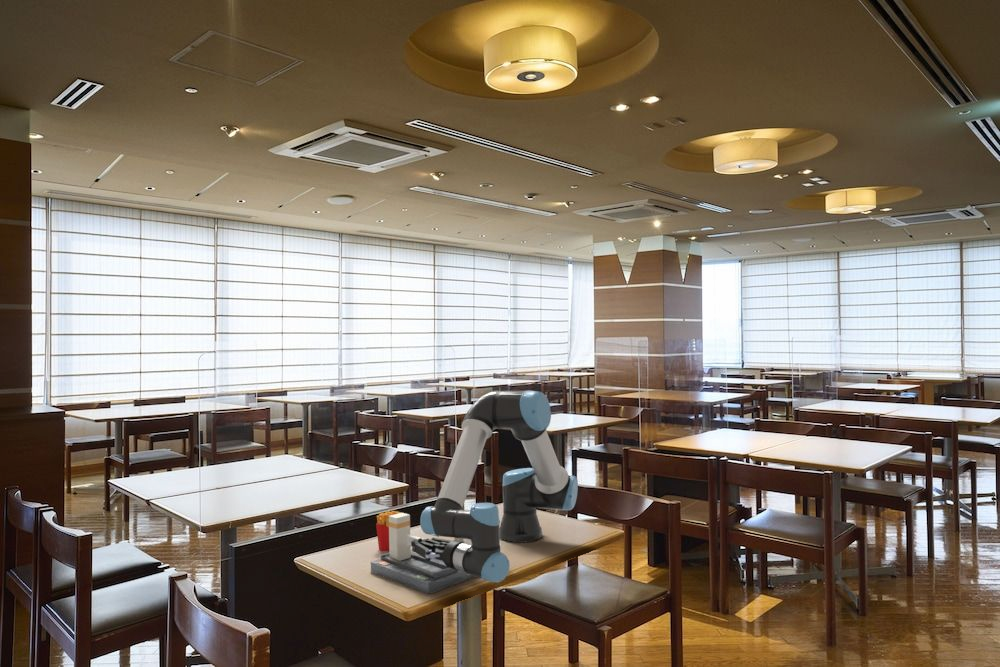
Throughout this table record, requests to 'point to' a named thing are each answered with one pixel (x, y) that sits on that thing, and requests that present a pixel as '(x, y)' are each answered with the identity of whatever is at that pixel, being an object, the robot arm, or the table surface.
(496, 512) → the robot arm
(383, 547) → the french fries
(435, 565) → the breaker panel
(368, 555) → the table surface
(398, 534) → the handle
